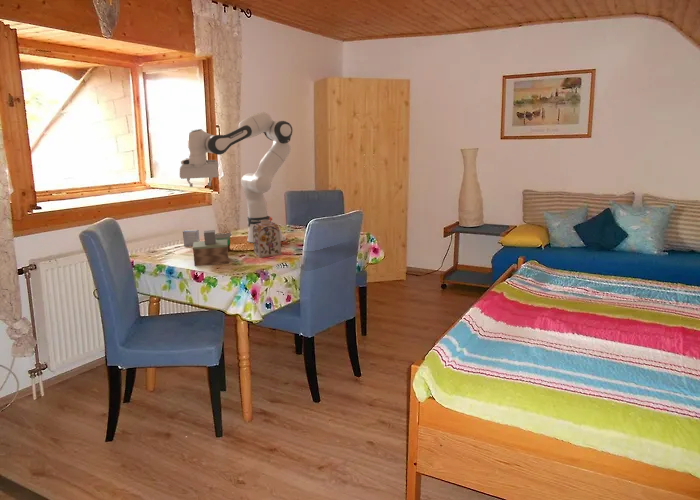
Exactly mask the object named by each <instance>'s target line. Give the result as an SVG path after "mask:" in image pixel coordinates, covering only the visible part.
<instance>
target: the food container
mask: <svg viewBox="0 0 700 500" xmlns="http://www.w3.org/2000/svg"><path fill="white" fill-rule="evenodd" d="M231 236H232V232H231V231H229V232H224V233H223V232H219V233H215V240H227V244H228V252H229V251H230V250H231Z"/></svg>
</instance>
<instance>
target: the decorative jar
mask: <svg viewBox="0 0 700 500" xmlns="http://www.w3.org/2000/svg"><path fill="white" fill-rule="evenodd" d="M278 225H279V224H278V223H276V222H274V221H273V222H272V221H271V222H270V220H261V223H257V224H255V225H254V227H253V242H252V243H253V252H254V254H255V255H256V256H257V257H258V258H266V257H273V256H274V257H275V256H282V247H281V245H282V243H281V242H282V241H280V230H279V228H280V227H279V226H278Z"/></svg>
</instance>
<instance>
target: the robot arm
mask: <svg viewBox="0 0 700 500" xmlns="http://www.w3.org/2000/svg"><path fill="white" fill-rule="evenodd" d="M261 134H263V135H264V136H265V137H266V138H267V139H269V140H270V141H272V144H271V147H269V148H268V150H267V151H266V153H265V154H264V155H263V156H262V158H261V159H260V161H259V164H258V167H257V169H256V171H255V172H247V173H245V174H244V175H242V176H241V178H240V184H241V187H242V189H243V192H244V193H243V194H244V197H245V200H246V206H247V219H246V221H247V226H248V232H247V233H248V234H247V240H246V242H247V243H253V227H254V225H255V224H257V223H261V220H270V222H272V221H273V217H272V216H269V215H268V208H267V207H268V204H267V201H266V199H265V195H264V193H267V192H269V190H270V189H271V188H272V181H273V179H274V177H275V175H276V173H277V172H278V171H279V170H280V168H281V166H282V165H283V164H284V162H285V161H286V159H288V157H289V154H290V152H291V150H292V147H291V144H290V143H289V142H290V141H291V138H292V136H293V127H292V125H291V124H290V122H288V121H286V120H273V119H272V117H271V115H270V114H269V113H268V112H265V111H263V112H259V113H255V114H252V115H249V116H247V117H245V118H243V119H242V120H241V121H239V123H238V127H237V128H236V129H234V130H232V131H231V132H228V133H226V134H215V135H214V134H211V133H208V132H206V131H204V130H203V129H201V128H198V129H194V130H193V129H192V130H190V131H189V132H188V133H187V148H188V151H189V152H188V156H189V157H188V158H185V159H182V160H181V161H180V164H181V165H180V167H179V178H180V179H182V180H184V179H185V180H186V181H187V183H188V184H189V188H193V186H194V185H193V183H191V179H204V178H205V179H206V178H209V181H208V182H207V186H208V187H211V186H212V185H211V184H212V181H213V178H218V177H219V176H220V174H219V169H218V168H219V162H218V161H217V160H216V159H207V153H209V154H212V155H213V154H215V155H219V156H220V155H224V154H225V153H226V152H227V151H228V150H229V149H230V148H231V147H232V146H234V145H235V144H237V143H239V142H241V141H243V140H246V139H247V140H248V139H251V138H254V137H256V136H258V135H261ZM279 230H280V242H283V241H286V240H287V236H285V235H283V232H282V229H281V228H280V227H279Z"/></svg>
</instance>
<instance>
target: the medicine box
mask: <svg viewBox="0 0 700 500" xmlns="http://www.w3.org/2000/svg"><path fill="white" fill-rule="evenodd" d="M182 239H183V246H184V247H193V243H194V242H199V241H200V232H199V229H185V230H183V231H182Z"/></svg>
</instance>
